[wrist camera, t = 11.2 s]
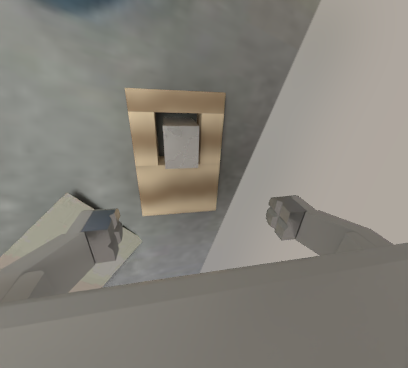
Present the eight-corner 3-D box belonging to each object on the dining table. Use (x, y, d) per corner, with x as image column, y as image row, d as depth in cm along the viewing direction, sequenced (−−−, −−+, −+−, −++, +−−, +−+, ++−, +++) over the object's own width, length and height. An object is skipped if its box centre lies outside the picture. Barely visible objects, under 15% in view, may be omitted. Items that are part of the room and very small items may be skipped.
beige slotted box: (53, 186, 32) (-35, 270, 25) (65, 189, 26) (-44, 300, 19) (123, 230, 42) (74, 298, 35) (144, 239, 36) (89, 323, 29)
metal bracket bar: (163, 116, 26) (162, 125, 19) (190, 117, 27) (199, 126, 20) (165, 150, 29) (165, 169, 22) (190, 149, 29) (198, 167, 22)
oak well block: (130, 88, 24) (124, 87, 20) (217, 92, 26) (225, 92, 23) (145, 202, 32) (142, 216, 29) (210, 198, 34) (215, 210, 31)
